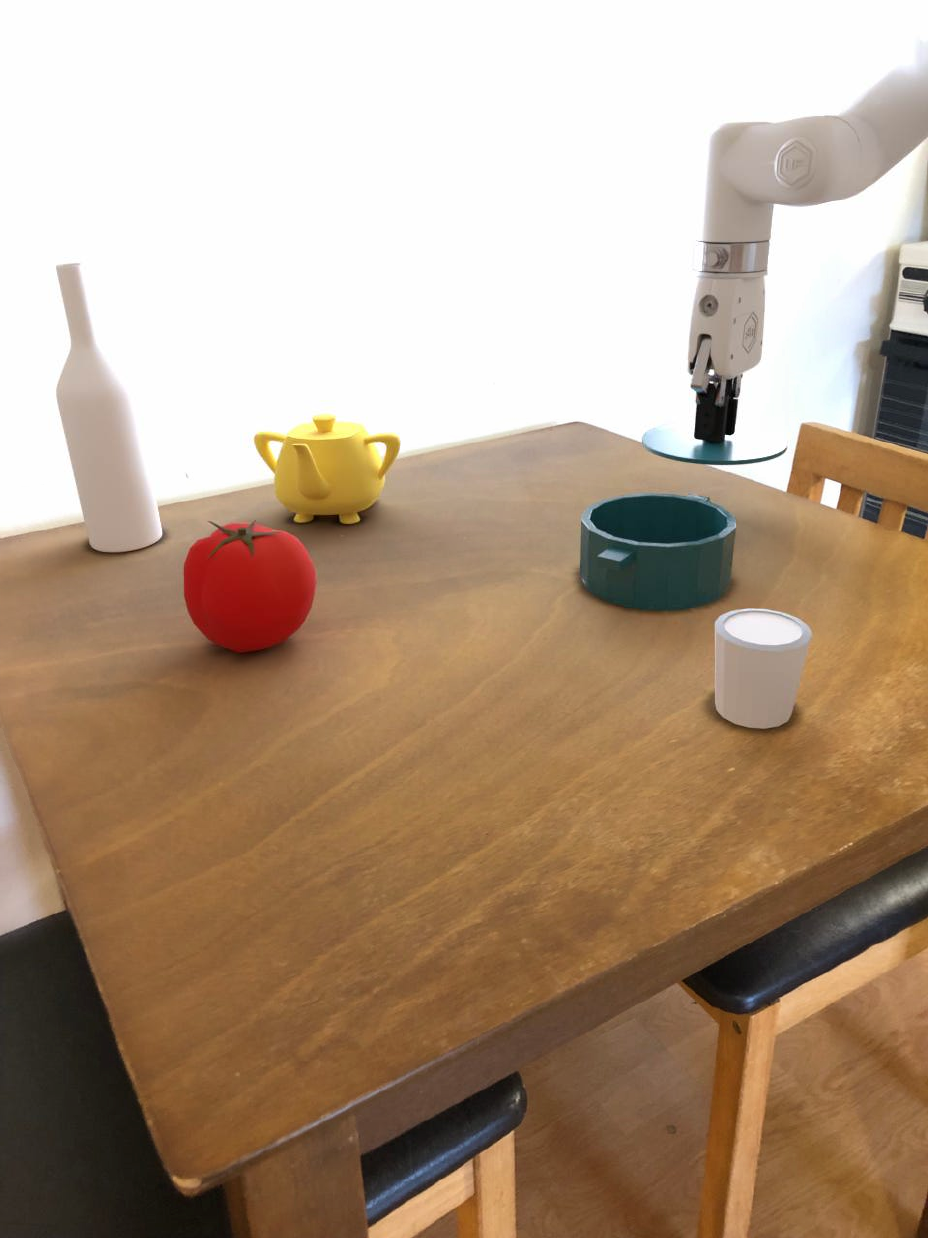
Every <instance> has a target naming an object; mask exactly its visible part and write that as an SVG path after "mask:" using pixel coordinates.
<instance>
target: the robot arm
mask: <svg viewBox="0 0 928 1238" xmlns="http://www.w3.org/2000/svg"><path fill="white" fill-rule="evenodd" d="M706 130H707V131H706V132H705V133H704V136H703V138H702V142H701V143H702V144H701V150H700V151H701V154H700V167H699V177H698V178H699V180H698V191H697V202H696V207H697V208H696V218H695V219H696V220H695V232H694V243H693V254H692V255H693V257H692V270H691V275H692V276H693V277H696V279H695V284H694V289H693V296H692V302H691V308H690V316H689V323H688V330H687V331H688V333H687V342H686V353H685V354H686V355H685V356H686V357H685V363H686V365H685V368H686V371H687V372H688V374H689V375H691V381H690V389H692V390H693V391H694V392H695V404H696V405H695V416H694V417H695V419H694V422H695V429H694V438H695V439H697V440H703V441H710V442H717V443H719V442H721V441H723V439H724V429H725V419H726V409H727V405H723V403H724V396H725V393H727V394H729V403H728V413H727V423H726V433H725V435H729V436H731V435H733V434H734V433H735V426H736V423H737V417H738V407H739V399H738V398H740V394H741V388H742V378H743V376H744V373H746V372H748V371H750V370H752V369H753V368H755V367H756V366H758V364H759V363H760V362H761V359H762V353H763V339H764V327H765V310H766V309H765V308H766V276H768V275H769V267H770V258H771V249H772V241H773V240H772V239H773V231H774V221H775V214H776V205H777V206H783V207H788V208H789V207H790V208H799V209H801V208H802V209H803V208H813V207H817V206H818V207H819V206H823V205H826V204H827V205H828V204H832V203H840V202H844V201H847V200H848V201H849V200H850V199H853V198H854V197H856V196H858V195H860V194H861V193H863V192H865V191H866V190H867V189H869V188H870V187H871V186H872V185H874V184H875V183H877V182H878V181H879V180H880V179H881V178H882V177H883V176H885V175H886V174H887V173H889V172H890V171H892V169H894V167H895V166H897V165H898V164H899V163H901V161H902V160H903V159H905V158H906V157H908V156H909V155H910V154H911V153H912V152H913V151H915V149H917V148H918V147H919V146H920V145H921V144H922V143H923V142H924V141H926V140H927V139H928V0H921V2H920V3H919V6H918V9H917V11H916V15H915V18H914V21H913V24H912V28H911V30H910V33H909V35H908V36H907V39H906V41H905V42H904V44H903V45H902V47H901V48H900V50H899V52H898V53H897V55H896V56H894V58H893V60H892V61H891V62H890V63H889V65H887V67H886V68H885V69H884V70H882V72H881V73H880V74H879V75H878V76H877V77H876V78H875V79H874V80H873V81H872V83H871V84H870V85H869V86H867V87H866V88H865V89H864V90H863V91H862V92H861V93H860V94H859V95H858V96H857V97H856V98H855V99H853V101H851V102H850V103H849V104H848V105H847V106H846V107H845V108H844V109H843V110H842V111H840V112H839V113H838V114H837V115H831V114H830V115H829V114H828V115H827V114H826V115H811V116H803V117H798V118H793V119H789V120H783V121H778V122H774V123H773V122H769V121H738V122H737V121H736V122H724V123H718V124H715V125H712V126H710V128H708V129H706ZM711 370H712V371H713V373H710V371H711Z"/></svg>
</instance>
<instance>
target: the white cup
mask: <svg viewBox="0 0 928 1238" xmlns="http://www.w3.org/2000/svg"><path fill="white" fill-rule="evenodd" d="M812 633H813V632H812V631H811V628H810V626H809V625H808V624H807V623H806V622H804V621H803V620H802V619H800V618H798V617H796V616H794V615H792V614H789V613H786V612H783V611H777V610H772V609H768V608H749V607H748V608H741V609H734V610H730V611H728V612H725V613H724V614H721V615H719V616H718V618H717V619H716V620H715V622H714V698H715V699H714V703H715V704H714V705H715V710H716V712H717V713H718V714H719V716H721V717H722V718H723V719H725V720H727V721H728V722H730V723H732V724H734V725H738V726H741V727H745V728H749V729H762V730H763V729H764V730H765V729H770V728H778V727H780V726H782V725H784V724H785V723H788V721H789V720H790V718H791V716H792V714H793V710H794V707H795V702H796V699H797V696H798V695H797V694H798V692H799V691H798V690H799V687H800V683H801V680H802V676H803V672H804V669H805V664H806V660H807V656H808V653H809V649H810V645H811V642H812V637H813V634H812Z"/></svg>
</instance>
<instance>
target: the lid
mask: <svg viewBox="0 0 928 1238" xmlns="http://www.w3.org/2000/svg"><path fill="white" fill-rule="evenodd" d="M728 403H729V394H727V393H725V396H724V403H723V405H727V409H726V419H725V429H724V439H723V441H721V442H719V443H717V442H710V441H703V440H697V439H695V438H694V429H695V421H682V422H674V423H668V424H663V425H660V426H655V427H654V428H651V429H649V430H647V431H646V432H645V433H643V435H642V436H641V445H642V447H643V448H644V449H645V450H646V451H648V452H649V453H651V454H652V455H653V454H654V455H655V456H658V457H661V458H665V459H669V460H673V461H676V462H682V463H688V464H697V465H708V466H741V465H751V464H752V465H753V464H759V463H763V462H768V461H771V460H775V459H777V458H779V457H781V456H782V455H784V454H785V453H786V451H787V450H788V441H787V439H786V438H785V437H784V436H783V435H781V434H779V433H777V432H775V431H773V430H771V429H767V428H764V427H760V426H755V425H752V424H751V425H750V424H744V423H738V422H736V426H735V433H734V434H733V435H731V436H729V435H725V433H726V423H727V413H728Z"/></svg>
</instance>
